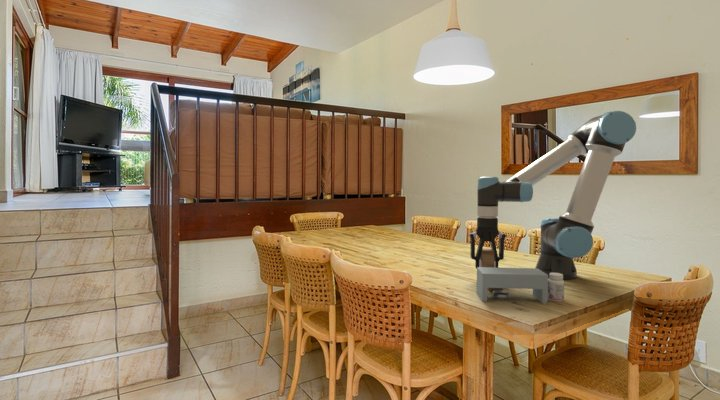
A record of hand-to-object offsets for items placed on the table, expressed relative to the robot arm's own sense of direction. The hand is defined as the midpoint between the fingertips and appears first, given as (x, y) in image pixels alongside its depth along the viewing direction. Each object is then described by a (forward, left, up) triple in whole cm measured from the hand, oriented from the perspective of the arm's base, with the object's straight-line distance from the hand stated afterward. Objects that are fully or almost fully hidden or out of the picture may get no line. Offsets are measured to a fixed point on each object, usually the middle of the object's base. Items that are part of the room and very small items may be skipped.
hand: (486, 277), depth 148 cm
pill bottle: (-17, +22, -1) cm, 28 cm away
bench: (-3, +21, -1) cm, 22 cm away
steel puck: (0, +21, -1) cm, 21 cm away
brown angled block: (0, +6, -1) cm, 6 cm away
